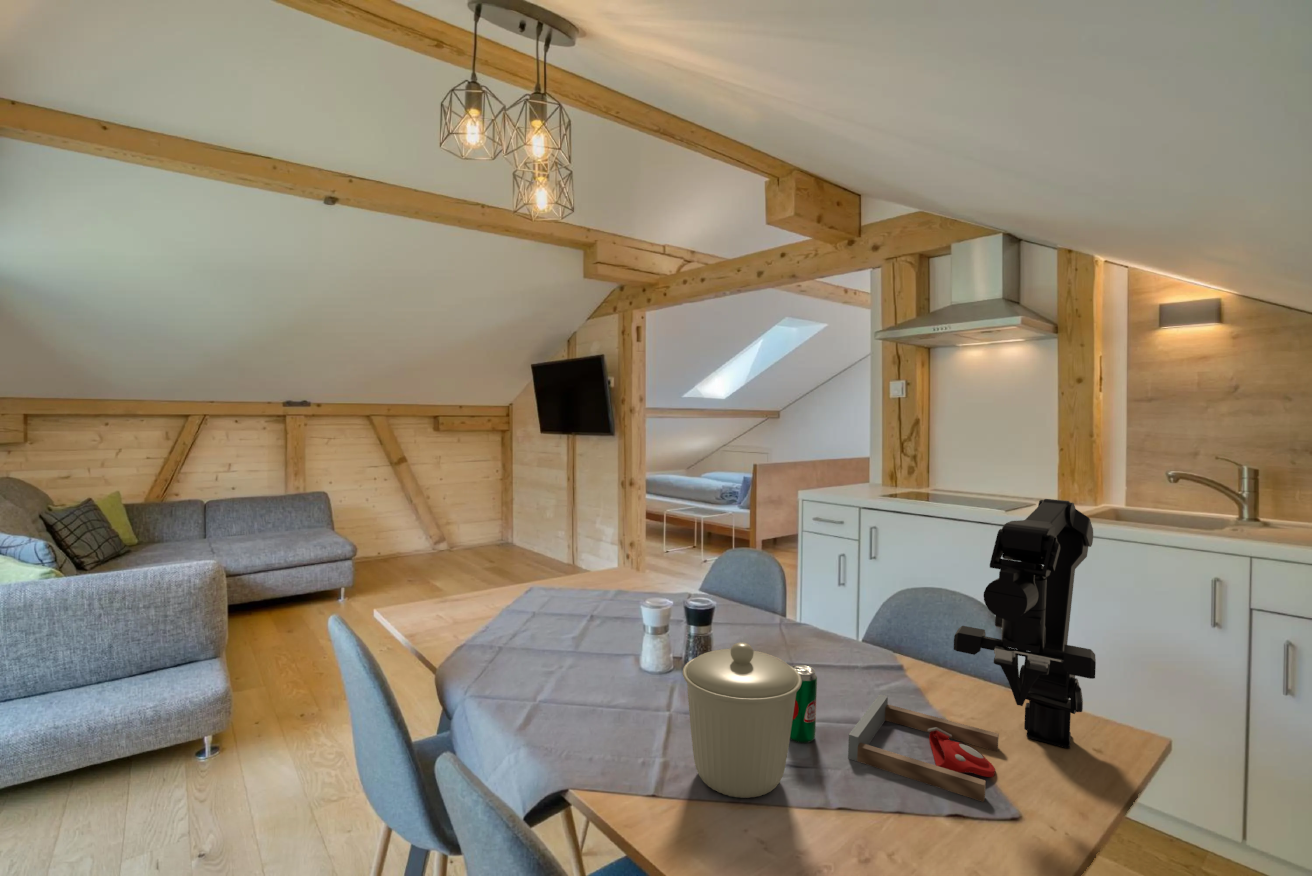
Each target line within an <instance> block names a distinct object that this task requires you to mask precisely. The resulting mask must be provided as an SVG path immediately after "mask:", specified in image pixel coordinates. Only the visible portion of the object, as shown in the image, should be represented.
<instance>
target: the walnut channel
mask: <svg viewBox="0 0 1312 876" xmlns="http://www.w3.org/2000/svg"><path fill="white" fill-rule="evenodd" d="M885 721H886V722H890V723H893V724H896V725H901V726H903V727H908V728H912V729H915V730H919V731H922V732H924V733H928V734H930V732H928V729H930V728H935V727H937V728H939V729H941V730H943V731H945V732H947V733H949V734H951V735H952V737H950V738H949V740H953V741H954V740H955V741H956V742H960V743H963V744H967V745H971V746H972V745H973V746H976V747H979V748H983V749H986V750H989V751H993V752H998V751H999V737H1000V733H998V732H994V731H990V730H986V729H982V728H978V727H974V726H971V725H968V724H964V723H961V722H957V721H952V720H949V719H946V718H945V719H944V718H941V717H938V716H933V715H929V714H927V713H923V712H918V711H914V710H911V709H907V708H903V707H900V706H896V705H892V704H887V706H886V707H885ZM856 762H857V763H861V764H865V765H866V766H871V767H874V768H877V769H880V770H883V771H885V772H889V773H892V774H896V775H898V776H902V777H903V778H904V777H905V778H907V779H910V780H914V781H916V782H917V781H918V782H920V783H922V784H927V785H929V786H932V787H936V788H938V789H941V790H944V791H948V792H951V793H954V794H956V795H957V794H958V795H961V796H964V797H967V798H969V799H973V800H975V801H979V802H982V803H984V802H985V799H986V784H987V783H986V780H985V779H982V778H978V777H975V776H971V775H968V774H965V773H960V772H956V771H952V770H949V769H946V768H942V767H939V766H936V764H932V763H929V762H925V761H922V760H919V759H916V758H912V757H911V756H907V755H903V754H899V753H896V752H893V751H890V750H885V749H883V748H880V747H876V746H872V745H870V744H869V745H867V744H864V743H860V744H859V745H858V752H857V761H856Z"/></svg>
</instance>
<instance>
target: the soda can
mask: <svg viewBox="0 0 1312 876" xmlns="http://www.w3.org/2000/svg"><path fill="white" fill-rule="evenodd" d="M790 666H791V667H793V668H794V669H795V670H796V671H797V672H798V673H799V674H800V676H801V679H802V684H801V687H800V689H799V690H798V691H797V692H796V699H795V706H794V713H793V720H792V727H791V734H790V740H791V741H793V742H796V743H800V744H806V743H810V742H812V741H813V740H814V739H816V730H817V729H816V726H817V723H816V722H817V695H818V692H817V691H818V690H817V689H818V676H817V674H816V670H815V668H813V667H811V666H807V665H804V664H795V665H790Z"/></svg>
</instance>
